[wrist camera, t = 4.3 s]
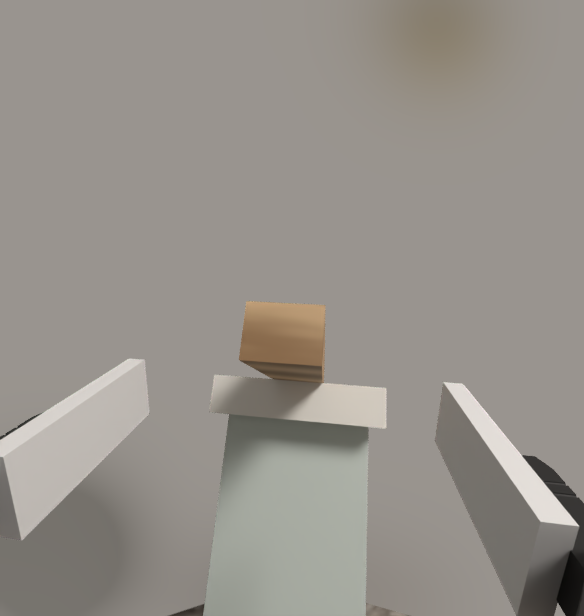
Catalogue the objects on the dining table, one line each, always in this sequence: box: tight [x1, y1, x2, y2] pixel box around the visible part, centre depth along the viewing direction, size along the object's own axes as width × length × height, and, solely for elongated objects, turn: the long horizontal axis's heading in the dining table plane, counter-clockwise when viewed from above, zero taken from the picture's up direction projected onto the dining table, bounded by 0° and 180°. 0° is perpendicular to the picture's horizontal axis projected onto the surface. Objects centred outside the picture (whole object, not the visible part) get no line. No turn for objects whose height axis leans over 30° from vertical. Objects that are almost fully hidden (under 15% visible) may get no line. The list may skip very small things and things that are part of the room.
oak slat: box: [239, 301, 325, 383], centre depth 30 cm, size 30×4×3 cm, turn 175°
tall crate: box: [203, 375, 386, 616], centre depth 32 cm, size 20×14×30 cm
